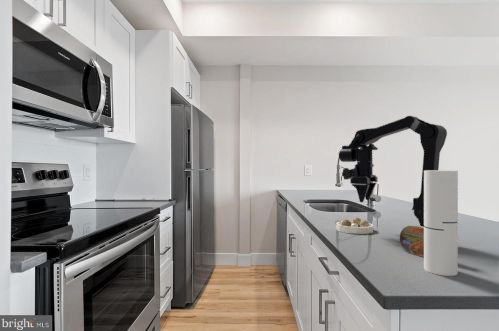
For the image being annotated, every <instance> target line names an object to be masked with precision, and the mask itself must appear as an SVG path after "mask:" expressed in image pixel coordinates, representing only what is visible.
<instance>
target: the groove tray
mask: <svg viewBox="0 0 499 331" xmlns="http://www.w3.org/2000/svg"><path fill="white" fill-rule="evenodd" d="M343 221H344V220H342V221H337V222H336V223H335V230H336V231H338V232H341V233H345V234H353V235H369V234H373V233H374V224H372V223H370V222H369V226H368V227H360V226H358V224H355V223H353V222H352V221H353V220H349V221H350V222H351V227H349V226H343V225H342V222H343Z"/></svg>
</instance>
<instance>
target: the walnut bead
mask: <svg viewBox="0 0 499 331" xmlns="http://www.w3.org/2000/svg"><path fill="white" fill-rule="evenodd" d="M342 221H343V222H342V225H343V226H349V227H351V222H350V221H351V220H348V219H344V220H342Z"/></svg>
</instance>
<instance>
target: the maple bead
mask: <svg viewBox="0 0 499 331" xmlns="http://www.w3.org/2000/svg"><path fill="white" fill-rule="evenodd" d="M369 223H370V222H369V221H368V220H366V219H363V220H361V222H360V227H368V226H369Z"/></svg>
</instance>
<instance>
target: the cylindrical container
mask: <svg viewBox="0 0 499 331" xmlns="http://www.w3.org/2000/svg"><path fill="white" fill-rule="evenodd" d="M458 173H459V172H458V170H445V169H444V170H442V169H441V170H440V169H438V170H424V227H423V228H424V258H423V269H424V271H425V272H428V273H431V274H435V275H439V276H443V277H453V276H457V275H458V272H459V271H458V269H459V268H458V266H459V265H458V264H459V262H458V260H459V256H458V255H459V252H458V249H459V248H458V246H459V242H458V240H459V236H458V235H459V234H458V233H459V232H458V228H459V226H458V224H459V222H458V220H459V218H458V214H459V213H458V212H459V210H458V209H459V208H458V207H459V206H458V204H459V203H458V202H459V201H458V200H459V198H458V197H459V194H458V193H459V192H458V191H459V190H458V189H459V188H458V186H459V180H458V179H459V178H458V176H459V174H458Z"/></svg>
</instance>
